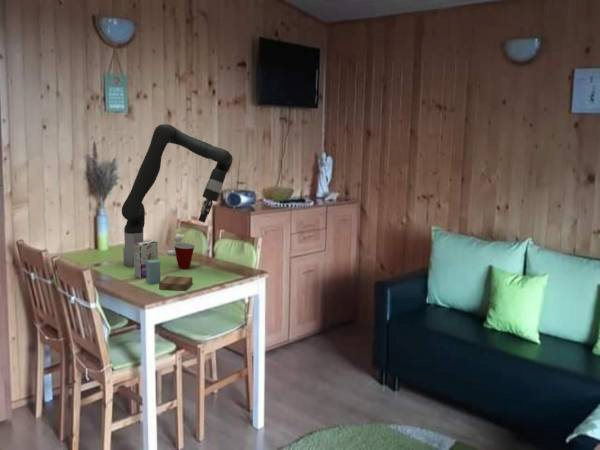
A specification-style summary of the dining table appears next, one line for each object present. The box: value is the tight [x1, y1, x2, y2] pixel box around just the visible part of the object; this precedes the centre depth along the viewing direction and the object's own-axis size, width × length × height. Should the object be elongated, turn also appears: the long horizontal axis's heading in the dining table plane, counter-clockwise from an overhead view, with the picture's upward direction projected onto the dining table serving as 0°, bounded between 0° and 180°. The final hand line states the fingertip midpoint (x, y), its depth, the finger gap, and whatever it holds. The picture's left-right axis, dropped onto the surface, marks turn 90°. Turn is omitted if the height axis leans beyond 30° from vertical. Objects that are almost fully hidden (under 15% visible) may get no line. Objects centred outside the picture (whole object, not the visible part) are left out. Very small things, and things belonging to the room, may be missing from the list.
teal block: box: [145, 259, 161, 285], centre depth 277 cm, size 5×5×10 cm
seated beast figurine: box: [166, 233, 185, 256], centre depth 333 cm, size 10×9×12 cm
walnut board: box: [158, 275, 193, 292], centre depth 272 cm, size 12×12×3 cm
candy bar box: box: [133, 239, 159, 279], centre depth 288 cm, size 11×5×16 cm, turn 148°
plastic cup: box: [173, 242, 196, 270], centre depth 305 cm, size 11×11×12 cm
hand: (201, 221), depth 289 cm, fingers open, 8 cm apart
